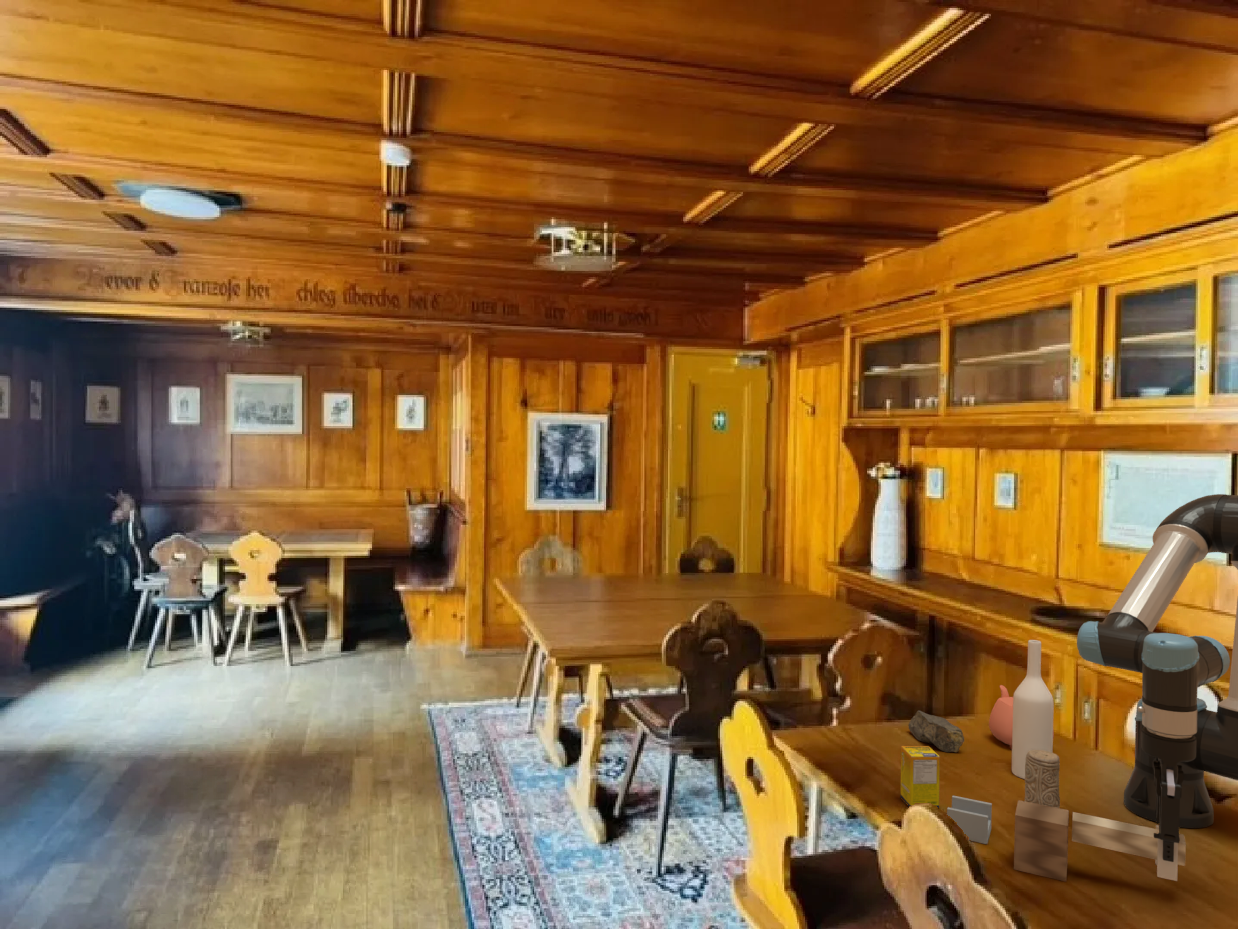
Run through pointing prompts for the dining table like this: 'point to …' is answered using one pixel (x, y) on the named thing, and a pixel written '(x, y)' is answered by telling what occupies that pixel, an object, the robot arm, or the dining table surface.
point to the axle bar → (1120, 836)
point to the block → (1041, 840)
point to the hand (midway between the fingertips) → (1166, 871)
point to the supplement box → (919, 775)
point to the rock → (936, 732)
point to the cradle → (972, 817)
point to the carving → (1042, 778)
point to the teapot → (1003, 718)
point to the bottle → (1031, 713)
